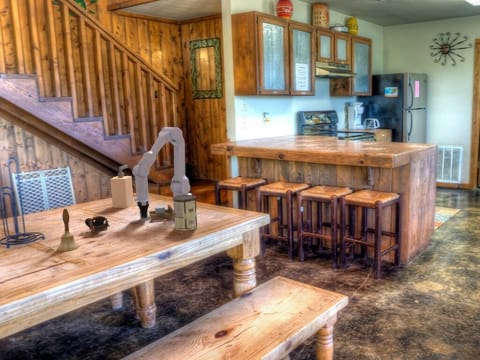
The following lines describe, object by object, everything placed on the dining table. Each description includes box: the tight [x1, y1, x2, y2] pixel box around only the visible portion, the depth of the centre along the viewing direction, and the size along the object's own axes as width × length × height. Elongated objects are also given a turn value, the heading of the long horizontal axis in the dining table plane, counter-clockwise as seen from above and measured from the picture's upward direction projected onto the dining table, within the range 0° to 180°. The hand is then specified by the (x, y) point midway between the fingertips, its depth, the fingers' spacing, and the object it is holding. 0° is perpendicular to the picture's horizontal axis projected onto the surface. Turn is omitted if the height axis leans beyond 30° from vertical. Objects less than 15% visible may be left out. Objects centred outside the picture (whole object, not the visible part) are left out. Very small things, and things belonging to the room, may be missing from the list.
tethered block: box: [139, 205, 166, 222], centre depth 216 cm, size 12×4×6 cm, turn 106°
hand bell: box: [56, 208, 80, 252], centre depth 174 cm, size 8×8×16 cm
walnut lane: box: [148, 204, 174, 222], centre depth 217 cm, size 10×9×5 cm
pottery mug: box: [84, 215, 111, 236], centre depth 196 cm, size 12×10×8 cm
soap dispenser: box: [109, 164, 134, 209], centre depth 246 cm, size 13×9×22 cm
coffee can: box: [172, 195, 198, 232], centre depth 198 cm, size 10×10×14 cm
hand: (144, 216), depth 215 cm, fingers closed on tethered block, 3 cm apart
